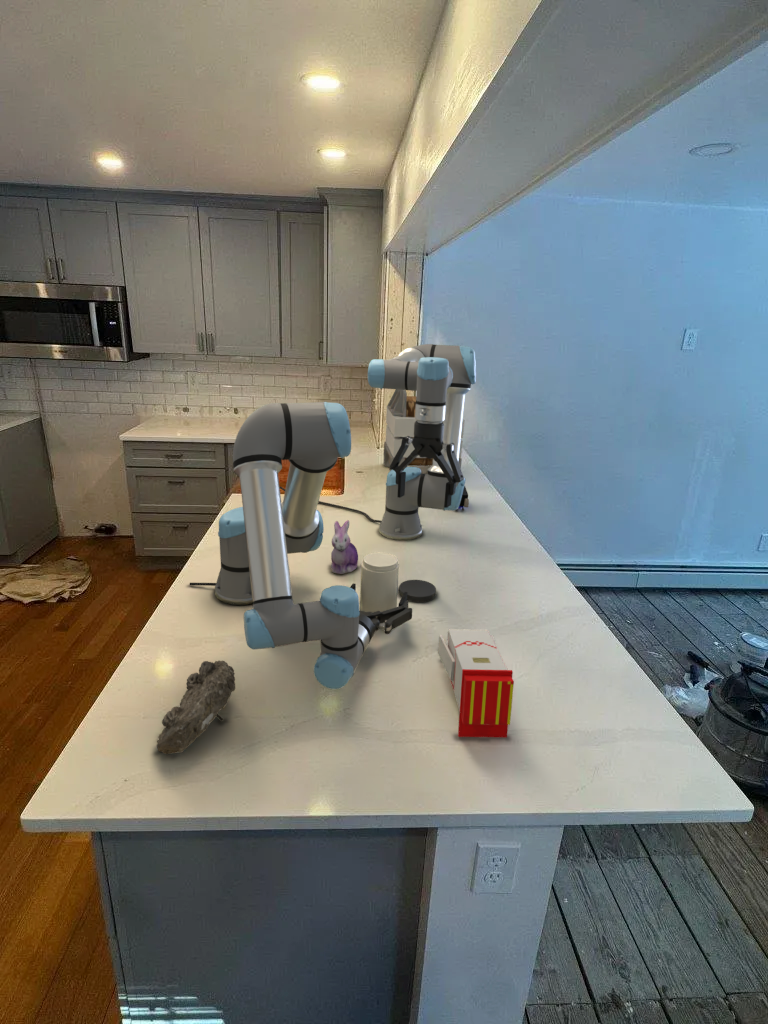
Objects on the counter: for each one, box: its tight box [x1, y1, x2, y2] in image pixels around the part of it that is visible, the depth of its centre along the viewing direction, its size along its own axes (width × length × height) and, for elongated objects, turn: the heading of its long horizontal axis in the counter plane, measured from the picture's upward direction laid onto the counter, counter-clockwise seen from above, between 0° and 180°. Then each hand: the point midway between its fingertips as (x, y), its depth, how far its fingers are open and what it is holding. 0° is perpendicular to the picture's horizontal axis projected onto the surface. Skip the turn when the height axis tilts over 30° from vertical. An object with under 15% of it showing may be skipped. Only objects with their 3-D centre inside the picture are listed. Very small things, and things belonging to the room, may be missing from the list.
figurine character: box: [455, 485, 470, 512], centre depth 229 cm, size 7×8×15 cm
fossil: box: [156, 660, 236, 755], centre depth 106 cm, size 22×10×15 cm
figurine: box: [330, 519, 359, 575], centre depth 169 cm, size 9×10×15 cm
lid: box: [398, 579, 437, 603], centre depth 158 cm, size 10×10×2 cm
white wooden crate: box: [383, 389, 465, 472], centre depth 268 cm, size 34×33×41 cm
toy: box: [437, 628, 515, 738], centre depth 117 cm, size 12×13×30 cm
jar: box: [359, 551, 400, 613], centre depth 143 cm, size 9×9×16 cm
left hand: (379, 592), depth 144 cm, fingers open, 13 cm apart
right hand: (423, 501), depth 150 cm, fingers open, 13 cm apart
